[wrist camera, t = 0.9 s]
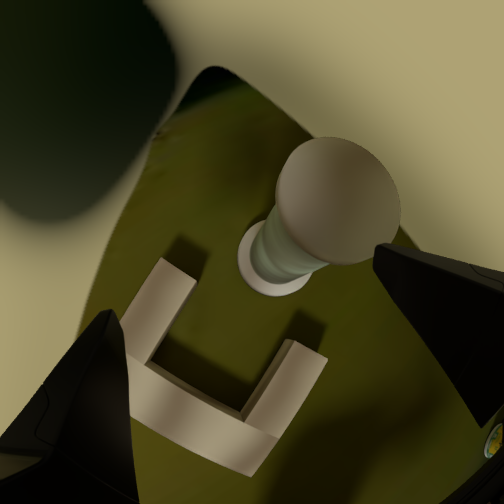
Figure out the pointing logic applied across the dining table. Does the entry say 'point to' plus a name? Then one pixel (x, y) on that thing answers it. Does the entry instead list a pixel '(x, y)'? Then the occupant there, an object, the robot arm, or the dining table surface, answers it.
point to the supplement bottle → (493, 441)
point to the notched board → (198, 403)
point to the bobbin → (320, 216)
